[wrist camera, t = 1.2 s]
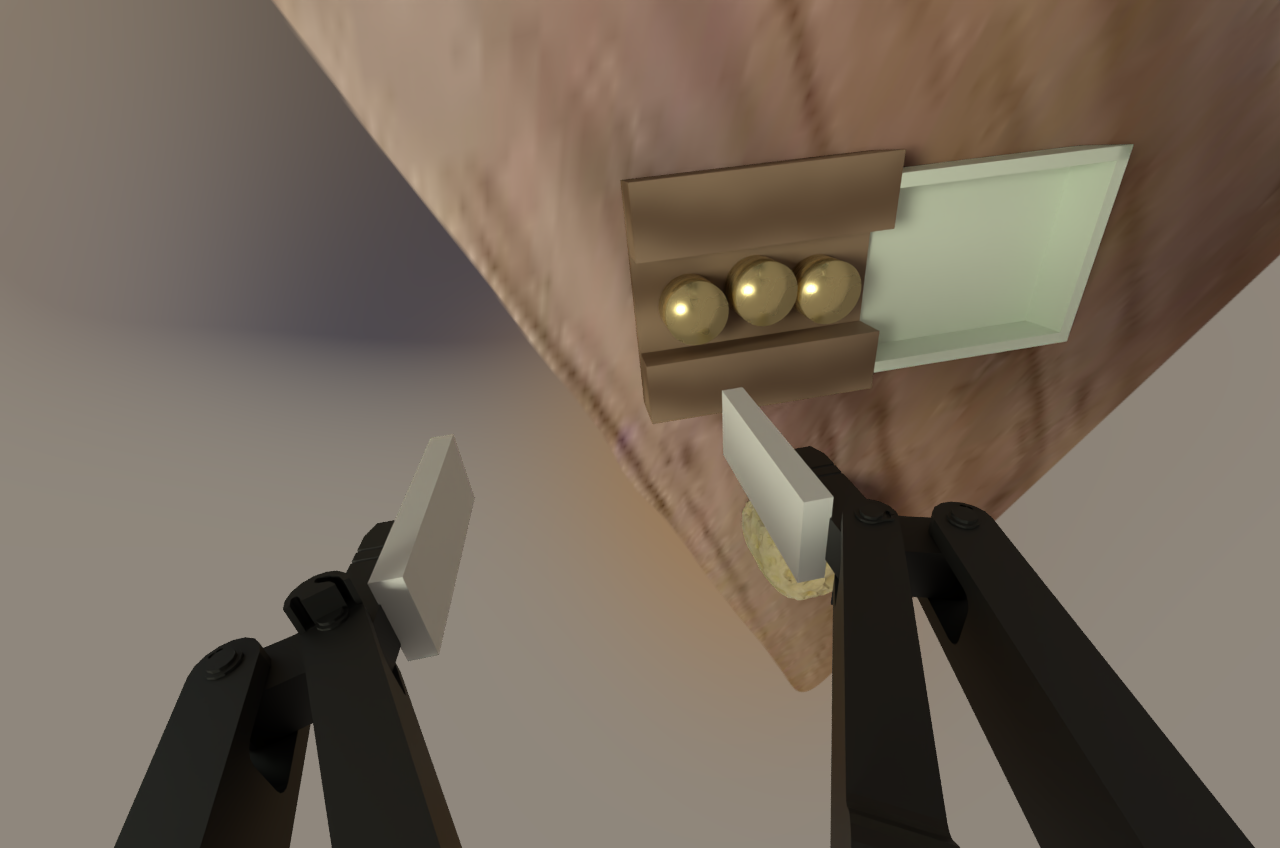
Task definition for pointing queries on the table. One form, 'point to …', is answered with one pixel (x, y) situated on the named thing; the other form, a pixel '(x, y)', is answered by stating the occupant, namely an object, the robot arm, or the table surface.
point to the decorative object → (779, 561)
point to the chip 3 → (826, 288)
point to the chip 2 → (760, 290)
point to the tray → (988, 253)
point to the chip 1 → (693, 309)
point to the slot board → (744, 226)
